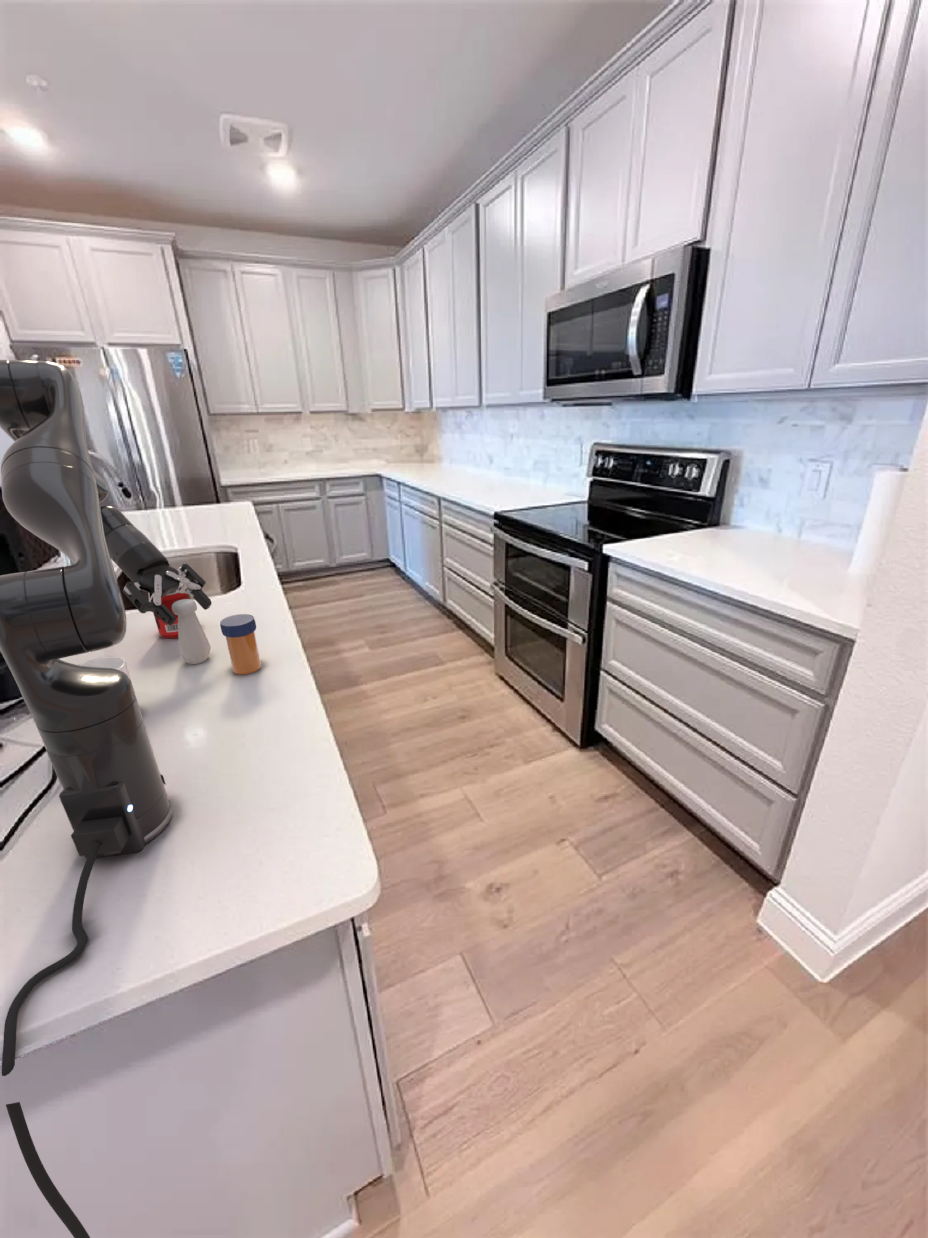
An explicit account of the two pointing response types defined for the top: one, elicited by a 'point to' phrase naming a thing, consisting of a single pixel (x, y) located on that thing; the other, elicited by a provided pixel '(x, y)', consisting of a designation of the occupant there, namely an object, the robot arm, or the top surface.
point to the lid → (238, 625)
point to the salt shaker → (190, 633)
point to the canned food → (168, 601)
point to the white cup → (108, 663)
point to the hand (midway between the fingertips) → (191, 614)
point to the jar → (244, 653)
